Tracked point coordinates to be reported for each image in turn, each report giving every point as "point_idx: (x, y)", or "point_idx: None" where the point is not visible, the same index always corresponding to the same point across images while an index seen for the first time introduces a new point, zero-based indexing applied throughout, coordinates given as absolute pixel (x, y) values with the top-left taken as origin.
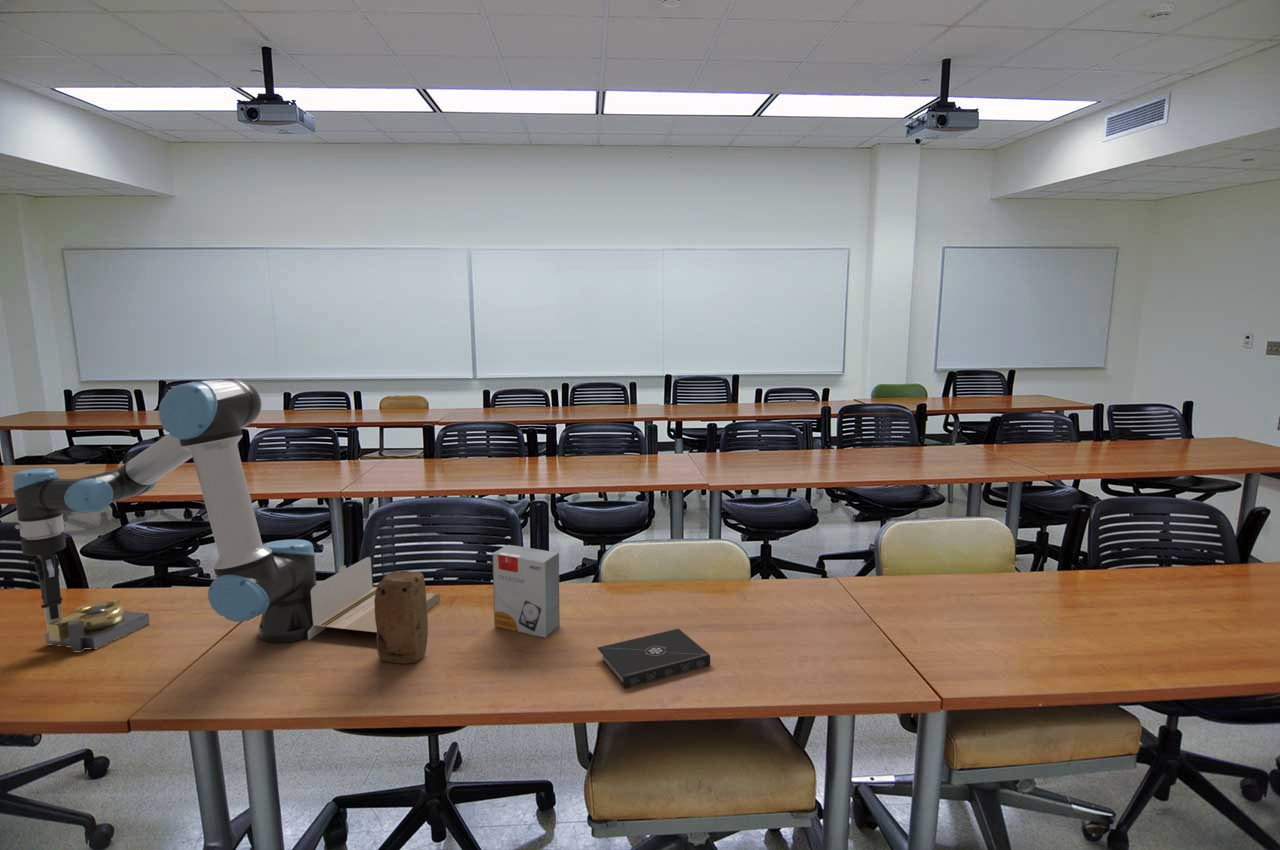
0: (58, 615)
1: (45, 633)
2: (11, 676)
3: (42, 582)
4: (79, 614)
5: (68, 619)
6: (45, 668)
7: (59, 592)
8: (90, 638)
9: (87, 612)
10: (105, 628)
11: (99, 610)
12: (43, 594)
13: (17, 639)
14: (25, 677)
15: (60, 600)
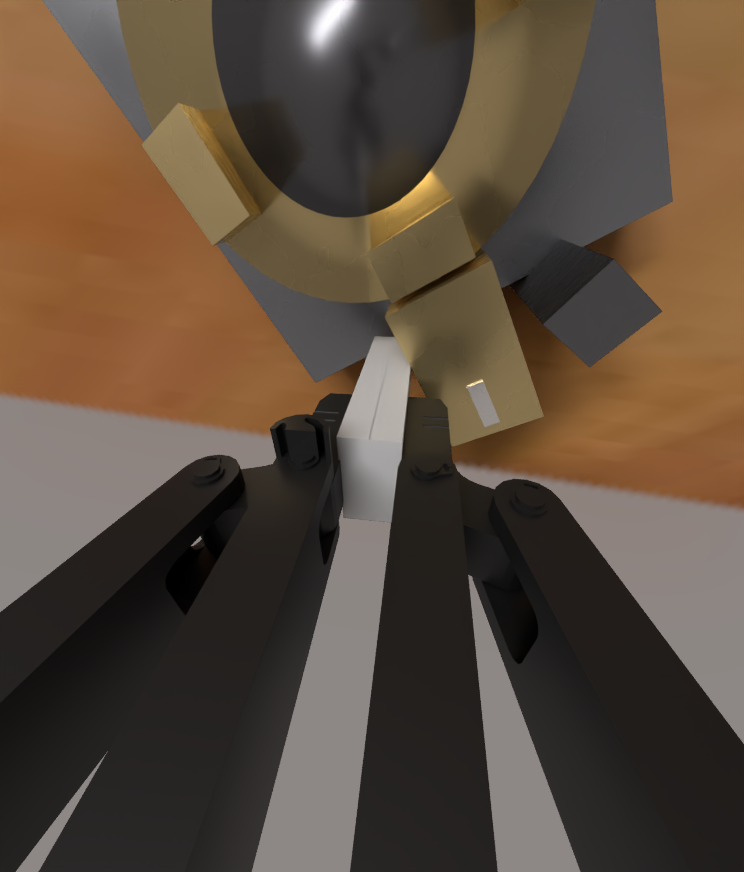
0: (445, 412)
1: (314, 380)
2: (541, 476)
3: (254, 836)
4: (417, 253)
5: (490, 347)
6: (593, 404)
7: (679, 674)
8: (639, 216)
9: (346, 169)
10: None
11: (379, 33)
12: (318, 614)
13: (192, 409)
14: (603, 456)
15: (578, 526)
